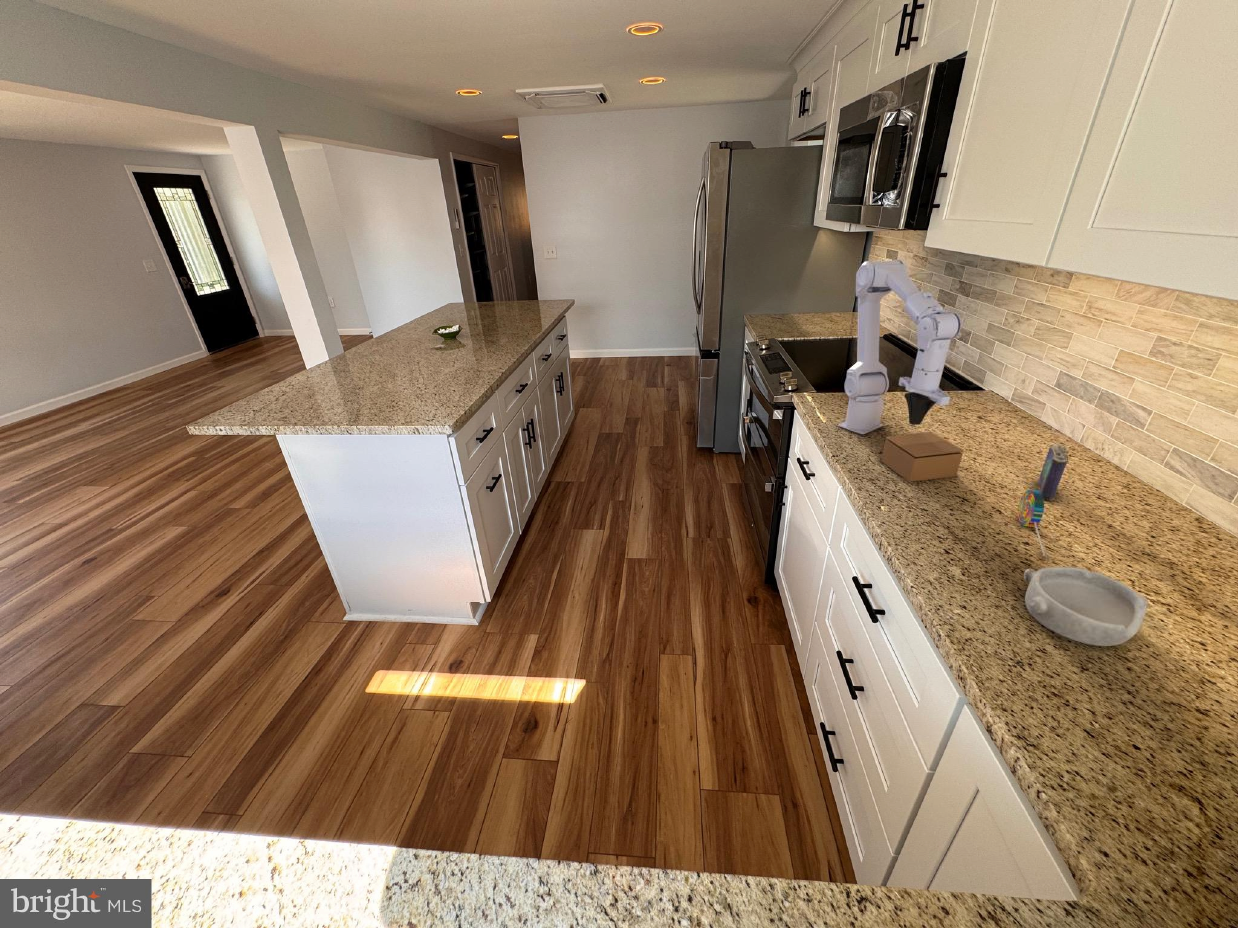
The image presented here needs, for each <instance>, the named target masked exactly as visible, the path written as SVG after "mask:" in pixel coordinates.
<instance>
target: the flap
mask: <svg viewBox="0 0 1238 928" xmlns="http://www.w3.org/2000/svg"><path fill="white" fill-rule="evenodd" d="M885 438H886V439H889V440H890V441H892V442H893V443H894V444H896V445H897V446H899V447H901V446H904V445H913V444H922V443H931V442H940V441H947V440H946V439H944V438H942V437H941V436H939V435H937V434H936V433H934V432H932V431H926V432H916V433H908V434H897V435H887V436H886V437H885Z"/></svg>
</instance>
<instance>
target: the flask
mask: <svg viewBox="0 0 1238 928" xmlns="http://www.w3.org/2000/svg"><path fill="white" fill-rule="evenodd" d="M1067 450H1070V447H1069V446H1064V445H1060V444H1058V445H1050V446H1049V448H1048V450H1047V454H1046V457H1045V460H1044V462H1043V466H1042V468H1041V471H1040V473H1039V475H1038V479H1037V482H1036V485H1038V486H1037V489H1038V491H1040V492H1041V493H1042V495H1043V498H1044V500H1046V501H1053V500H1055V498H1056V493H1057V491H1058V487H1059V485H1060V483H1061V480H1062V477H1063V474H1064V471H1065V470H1066V467H1067V463H1068V461H1069V455H1068V452H1067Z"/></svg>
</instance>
